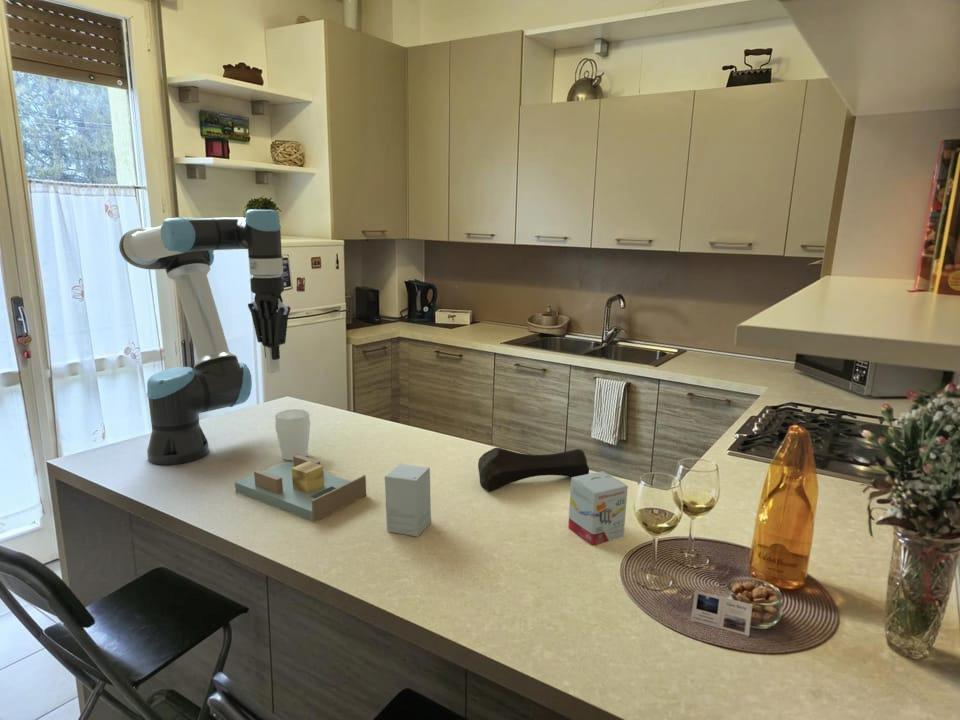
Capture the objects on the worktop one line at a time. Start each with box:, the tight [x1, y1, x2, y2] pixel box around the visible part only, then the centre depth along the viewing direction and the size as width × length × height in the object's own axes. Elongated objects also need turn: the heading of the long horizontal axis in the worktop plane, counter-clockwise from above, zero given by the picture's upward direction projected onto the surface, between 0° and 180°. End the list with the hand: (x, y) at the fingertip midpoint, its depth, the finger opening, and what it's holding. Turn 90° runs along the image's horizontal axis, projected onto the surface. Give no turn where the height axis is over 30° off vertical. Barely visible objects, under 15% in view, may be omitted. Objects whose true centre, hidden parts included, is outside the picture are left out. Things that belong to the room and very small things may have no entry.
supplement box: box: [384, 463, 432, 538], centre depth 132 cm, size 7×7×13 cm
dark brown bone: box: [477, 447, 590, 493], centre depth 156 cm, size 11×10×28 cm
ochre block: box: [292, 461, 325, 493], centre depth 146 cm, size 5×5×5 cm
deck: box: [234, 455, 367, 523], centre depth 148 cm, size 27×16×6 cm, turn 57°
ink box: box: [567, 470, 629, 547], centre depth 130 cm, size 9×9×12 cm
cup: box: [274, 409, 311, 462], centre depth 170 cm, size 9×9×12 cm
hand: (273, 371), depth 155 cm, fingers closed
